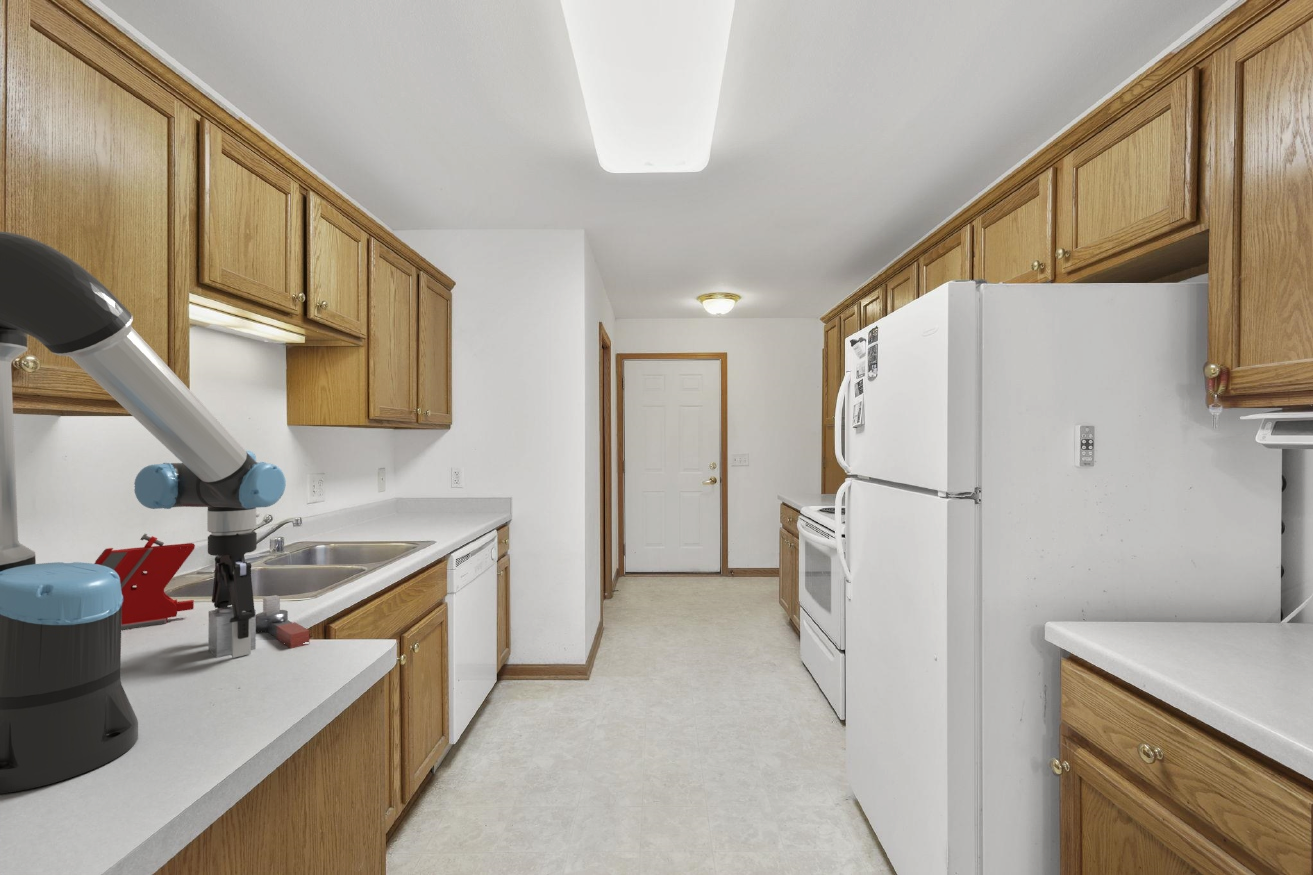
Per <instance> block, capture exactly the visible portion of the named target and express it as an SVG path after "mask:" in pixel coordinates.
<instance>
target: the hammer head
mask: <svg viewBox="0 0 1313 875" xmlns="http://www.w3.org/2000/svg"><path fill="white" fill-rule="evenodd" d="M216 609H217V608H216ZM243 612H246V611H243ZM231 618H234V615H233V608H232V605H230V606H228V607H225V608H222V609H217V610H215V609H214V610H208V635H207V636H208V645H207V647H208V651H209V652H210V653H211V654H212V655H213V656H214V657H215V658H220V657H224V656H229V655H232V622H231V623H230V621H229V620H230V619H231ZM256 633H257V632H256V609H255V617H252V618H251V650H256V643H257V642H256V641H257V638H256V635H257V634H256Z"/></svg>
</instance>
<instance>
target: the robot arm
mask: <svg viewBox="0 0 1313 875" xmlns="http://www.w3.org/2000/svg"><path fill="white" fill-rule="evenodd" d="M133 320H134V316H133V314H132V313H131V312H130V311H129V310H128V308H126V306H125V305H124V304H123V303H122V302H121V301H120V300H119V299H118V298H117V297H116V295H115V294H113V292H111V290H109V289H108V288H107V287H106V286H105V285H104V284H103V283H102V282H101V281H100V280H98V279H97V278H96V277H95V276H93V275H92V274H91V273H90V272H88V271H87V270H86V269H85V268H84V267H83V266H81V265H80V264H78V263H77V262H76V261H75V260H74V259H72V258H71V257H69V256H67V255H66V254H64V253H62V252H61V251H59V250H57V249H56V248H54V247H52V246H50V245H48V244H45V243H44V242H41V241H39V240H37V239H34V238H32V237H28V236H25V235H21V234H18V233H13V232H8V231H0V794H8V792H9V793H15V792H20V791H27V790H31V789H36V788H40V787H42V786H47V785H50V784H51V785H52V784H54V783H55V784H56V783H57V782H61V781H65V780H68V779H70V778H72V777H78V776H79V775H82V774H84V773H87V772H89V771H92V770H94V769H97V768H99V767H102V766H103V765H106V764H108V763H109V762H111V761H113V760H115V759H117V758H119V757H121V756H122V755H123V754H125V753H126V752H128V751H129V750H131V748H133V746H134V745H136V743H137V741H138V739H139V720H138V717H137V715H136V713H135V711H134V709H133V706H132V704H131V702H130V700H129V697H128V696H127V693H126V692H125V689H124V687H123V685H122V682H121V679H122V678H121V662H122V660H121V659H122V658H121V657H122V655H121V654H122V652H121V650H122V648H121V647H122V630H121V620H122V602H123V595H122V591H121V584H120V578H119V575H118V574H117V573H116V572H115V571H114V570H113V569H111V568H109V567H106V566H103V565H98V564H94V563H91V562H80V561H79V562H78V561H75V562H74V561H73V562H59V561H58V562H43V563H37V562H36V551H35V550H32V549H31V548H29V547H27V546H26V545H24V544H22V543H21V542H20V541H19V530H18V526H19V525H18V507H17V505H18V504H17V503H18V502H17V500H18V499H17V483H16V482H17V480H16V477H17V476H16V453H15V432H14V431H15V430H14V408H13V402H14V401H13V377H12V363H13V361H14V360H15V359H17V358H18V357H20V356H21V355H24V354H25V353H26V352H27V351H28V335H29V336H30V337H32V338H34V339H35V340H37V341H38V342H40V344H42V345H43V346H44V347H45V348H46V349H48V351H50V352H51V353H52V354H53V355H56V356H61V357H68V358H71V360H73V361H74V362H75V363H76V364H77V366H79V367H80V368H81V369H82V370H83V371H84V372H85V373H86V374H88V376H90V378H92V379H93V380H94V381H95V382H96V383H97V384H98V385H99V386H100V387H101V388H102V389H103V390H105V391H106V392H107V393H108V394H109V395H110V396H111V397H112V398H113V399H114V400H115V401H116V402H117V403H119V405H120V406H121V407H122V408H124V409H125V411H127V413H129V415H131V416H132V417H133V418H134V419H135V420H137V422H138V423H139V424H140V425H141V426H143V427H144V428H145V429H146V430H147V431H148V432H149V433H150V434H151V435H152V436H153V437H155V438H156V440H158V441H159V442H160V443H161V444H162V445H163V446H164V447H165V448H166V449H168V451H169V452H170V453H172V454H173V455H174V456H175V457H176V458H177V459H178V460H179V461H180V462H172V463H170V462H163V463H157V464H155V463H154V464H149V465H147V466H144V467H143V468H142V469H140V471H139V472H138V474H136V477H135V479H134V490H133V491H134V494H135V498H136V499H137V501H138V502H139V503H140V504H141V505H142V506H143V507H146V508H147V509H152V510H156V509H165V510H167V509H168V510H169V509H172V508H181V507H182V508H184V507H186V508H207V511H206V512H207V514H206V515H207V530H206V531H207V532H209V533H211V534H208V536H207V554H208V555H210V556H214V557H215V558H214V562H215V564H214V565H215V566H214V577H213V587H212V597H211V603H212V604H213V607H214V610H217V609H222V608H225V607H229V606H232V608H233V615H234V618H231V619H230V620H229V621H230V623H231V622H232V654H231V657H232V658H238V657H242V656H243V657H244V656H246V655H251V654H252V653H251V652H252V651H251V650H252V649H251V618H252V617H255V610H256V609H255V600H254V592H253V591H254V590H253V581H252V563H251V562H247V561H246V559H245V555H246V554H247V553H248V554H249V553H252V552H254V551H256V550H257V545H258V544H257V542H258V540H257V536H258V535H257V532H256V531H254V529H256V528H257V518H258V517H260V516H261V515H260V514H261V513H260V512H257V508H258V509H259V508H268V507H271V506H273V505H275V504H276V503H278V501H280V499H281V498H282V496H283V495H284V492H285V490H286V482H287V481H286V477H285V474H284V472H283V470H282V469H281V468H280V467H279V466H277V465H275V464H273V463H267V462H265V461H264V462H263V461H260V462H257V458H256V454H255V453H254V452H253V451H251V450H245V448H244V447H243V446H242V445H241V444H240V443H239V442H238V441H237V440H236V438H235V437H233V435H231V433H230V432H229V431H228V430H227V429H226V427H224V426H223V424H222V423H221V422H220V421H219V420H218V419H217V417H215V416H214V415H213V413H211V411H210V410H209V409H208V408H207V407H206V406H205V405H204V404H203V403H202V402H201V401H200V399H199V398H197V396H196V395H195V394H194V393H193V392H192V391H191V390H190V389H189V388H188V387H187V385H186V384H185V383H184V382H183V381H182V380H181V379H180V377H178V375H176V373H175V372H174V371H173V370H172V369H171V368H170V366H168V365H167V363H166V362H165V361H164V360H163V359H162V358H161V357H160V356H159V355H158V353H157V352H156V351H155V350H154V349H153V348H152V347H151V346H150V345H149V344H148V343H147V342H146V341H145V340H144V338H142V336H141V335H140V334H139V333H138V332H137V331H136V330H135V329H134V328H133V326H132V323H133ZM243 611H246V612H243Z"/></svg>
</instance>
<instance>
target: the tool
mask: <svg viewBox="0 0 1313 875" xmlns="http://www.w3.org/2000/svg"><path fill="white" fill-rule="evenodd" d="M139 540H141V541H144V540H145V541H147V542H146V543H145V545H144V547H143V546H142V547H131V548H122V549H121V548H120V549H114V547H108V548H105V549H104V550H103V551H102V552H101V553H100V555H99V556H98V557H97V558H96V560H95V562H94V563H93V564H98V565H103V566H106V567H109V568H111V569H113V570H114V571H115V572H116V573H117V574H118V575H119V578H120V584H121V591H122V595H123V602H122V620H121V631H124V630H132V629H137V628H138V629H139V628H145V627H150V626H151V627H153V626H158V625H164V624H167V622H168V619H170V618H175V617H177V615H178V612H183V611H184V612H185V611H191V610H194V607H195V605H194V604H195V603H194V599H190V600H182V601H178V599H174V598H172V597H171V596H169V594H168V595H167V593H166V592H165V589H166V587H167V586H168V585H169V583H170V582H171V580H172V579H173V578H174V576H175V575H176V573H178V571H179V570H180V568H181V567H182V566H183V564H184V563H185V562H186V560H187V559H188V558H189V556H191V554H192V552H193V551H194V550H195V548H196V545H195V544H194V543H193V542H190V543H177V544H176V543H175V544H165V542H163V541H161V540H158V538H157V537H155V536H154V535H153V536H151V537H150V536H148V534H147V533H144V534H143V535H142V536H141V538H140V539H139ZM154 544H155V545H156V546H155V545H154ZM164 544H165V545H164ZM153 545H154V546H153Z"/></svg>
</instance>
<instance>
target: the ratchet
mask: <svg viewBox="0 0 1313 875" xmlns="http://www.w3.org/2000/svg"><path fill="white" fill-rule="evenodd" d="M288 612H289V611H288V610H287V609H281V597H280V596H279V595H278V594H277V595H276V594H274V595H270V596H264V597H262V612H258V613H257V614H256V633H268V634H269V635H271V636H273V637H274V638H276V640H278V641H279V642H280V643H282V644H283V643H285V644H284V645H285V646H286V647H289V649H294V648H297V647H302V646H307V645H308V644H303V643H305V642H309V643H310V630H309V628H306V627H304V626H303V625H301V624H299V623H297V622H295V621H294V622H292V621H290V620H288V619H289V618H288V616H289V613H288Z"/></svg>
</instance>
